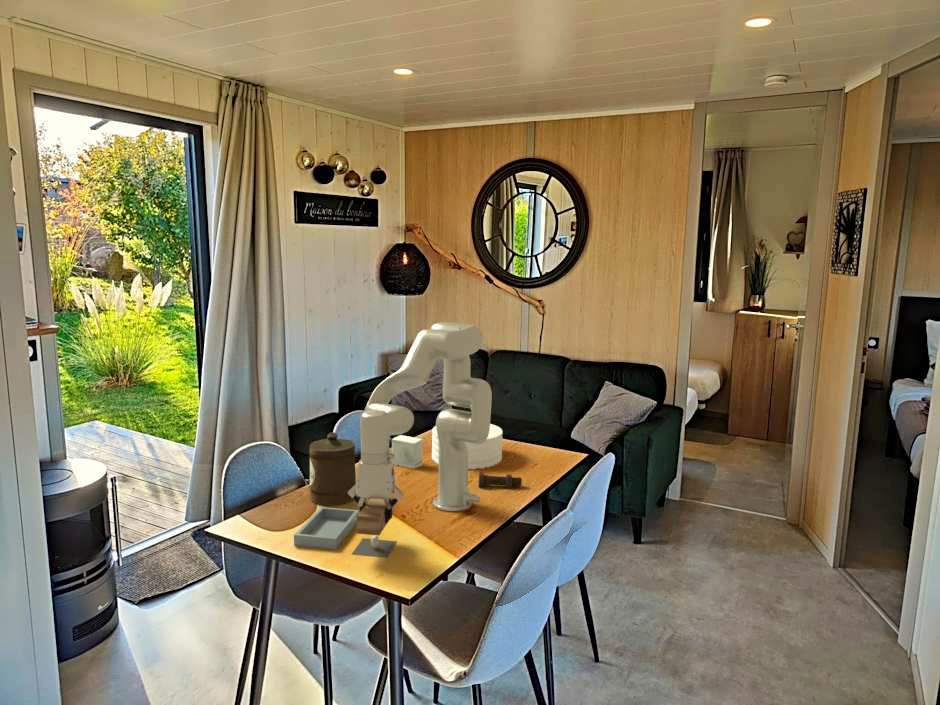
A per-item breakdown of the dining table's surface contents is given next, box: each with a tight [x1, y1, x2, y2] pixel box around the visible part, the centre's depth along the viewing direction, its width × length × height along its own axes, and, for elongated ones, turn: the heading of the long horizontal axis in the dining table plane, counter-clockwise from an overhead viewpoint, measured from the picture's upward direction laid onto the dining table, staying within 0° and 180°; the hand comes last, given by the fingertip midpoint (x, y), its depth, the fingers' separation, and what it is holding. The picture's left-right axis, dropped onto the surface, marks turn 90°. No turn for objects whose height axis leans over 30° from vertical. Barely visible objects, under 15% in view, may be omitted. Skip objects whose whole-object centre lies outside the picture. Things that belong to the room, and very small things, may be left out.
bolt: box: [478, 471, 523, 489], centre depth 230 cm, size 6×5×15 cm
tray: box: [293, 506, 360, 550], centre depth 188 cm, size 12×20×4 cm, turn 171°
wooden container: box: [309, 431, 357, 506], centre depth 215 cm, size 15×15×22 cm
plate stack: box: [431, 423, 504, 470], centre depth 260 cm, size 28×28×12 cm
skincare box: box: [391, 434, 424, 470], centre depth 250 cm, size 10×6×10 cm, turn 63°
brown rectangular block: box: [356, 496, 394, 536], centre depth 178 cm, size 14×6×5 cm, turn 171°
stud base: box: [351, 535, 398, 559], centre depth 179 cm, size 10×10×4 cm
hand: (376, 519), depth 178 cm, fingers closed on brown rectangular block, 6 cm apart
